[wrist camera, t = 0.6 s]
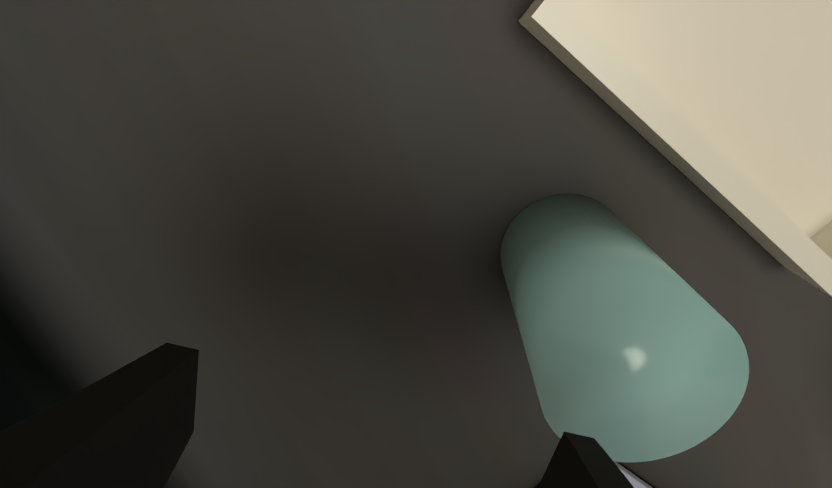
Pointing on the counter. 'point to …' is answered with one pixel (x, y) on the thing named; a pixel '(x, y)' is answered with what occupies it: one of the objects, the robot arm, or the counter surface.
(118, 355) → the counter surface
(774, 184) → the cream tray
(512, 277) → the pale teal cylinder
